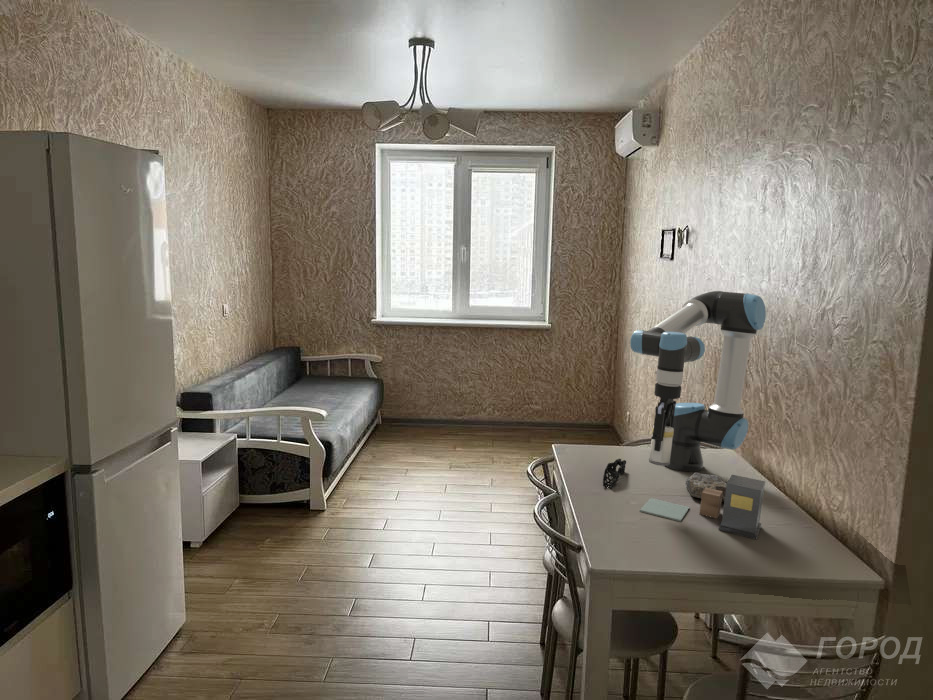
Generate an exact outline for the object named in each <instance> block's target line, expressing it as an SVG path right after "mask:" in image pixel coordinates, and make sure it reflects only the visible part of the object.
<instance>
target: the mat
mask: <svg viewBox="0 0 933 700" xmlns="http://www.w3.org/2000/svg"><path fill="white" fill-rule="evenodd" d="M688 509H689V510H690V506H686V505H682V504H677V503H674V502H669V501H665V500H661V499H657V498H653V497H650V498H649V499H648V500H647V501H646V502H645V503H644V505H643V506H641V508H640V509H639V512H641V513H645V514H649V515H653V516H656V517H661V518H665V519H668V520H672V521H676V522H682V520H683V518H685V516H686V514H688V511H689V510H688Z"/></svg>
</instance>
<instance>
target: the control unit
mask: <svg viewBox="0 0 933 700" xmlns="http://www.w3.org/2000/svg"><path fill="white" fill-rule="evenodd" d="M726 484H727V485H726V493H725V501H724V502H723V503H724V504H723V511H722V519H721V522H720V524H719V525H718V531H722V532H725V533H730V534H734V535H738V536H741V537H745V538H749V539H753V538H754V539H753V540H757V539H758V535H759V534H760V531H761V529H762V528H761V527H762V523H761V521H760V520H761V514H762V506H763V500H764V493H765V484H766V481H765V480H761V479H756V478H751V477H745V476H741V475H736V474H731V476H730V477H729V479H728V480H727V482H726Z"/></svg>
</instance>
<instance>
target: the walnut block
mask: <svg viewBox="0 0 933 700" xmlns="http://www.w3.org/2000/svg"><path fill="white" fill-rule="evenodd" d="M722 493H723V491H719V490H714V489H710V488H705V489H704V490H703V492H702V498H700V499H701V500H700V507H699V515H700V514H703V515H702V516H704V515H707V516H706V517H708V516H711V517H710V518H712V517H714V518H713V519H718V517H719V516H720V514H719V513H721V507H722V502H721V501H722ZM718 515H719V516H718Z"/></svg>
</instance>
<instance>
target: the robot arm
mask: <svg viewBox="0 0 933 700" xmlns="http://www.w3.org/2000/svg"><path fill="white" fill-rule="evenodd" d="M766 315H767V311H766V306H765V302H764V299H763V298H762V297H761V296H760V295H756V294H752V293H747V292H746V293H745V292H733V291H732V292H731V291H722V290H714V291H708V292H704V293H701V294H699V295H696V296H693V297H692V298H690V299H689V300H687V301H686V302H685V303H684V304H683V306H682V308H680V309H678V310H677V311H675V312H674V313H672V314H671V315H670V316H668V317H667V318H665V319H663V320H662V321H661V322H659V323H658V324H656V325H654V326H653V327H652V328H649V329H648V330H644V329H636V330H635V331H634V332H633V333H632V334H631V335H630V336H631V337H630V343H629V344H630V349H631V351H632V352H634V353H636V354H640V355H643V356H644V355H645V356H653V357H656V358H657V357H658V361H657V366H656V367H657V368H656V369H657V370H655V372H654V374H656V377H655V381H656V383H655V384H654V396H656V397H659V401H658V403H657V406H655V411H654V412H655V414H654V415H655V416H654V421H653V422H654V423H653V425H654V429H653V436H652V435H651V440H652V439H654V446H653V455H652V460H654V461H658V462H662V454H663V445H664V440H663V437H664V432H665V427H666V426H670V427H672V428H674V433H673V439H672V447H671V456H670V465H668V466H667V468H668V469H672V470H676V471H681V470H683V472H698V471H701V470H702V469H703V466H704V460H703V455H702V450H701V443H703V444H707V445H711V446H715V447H717V448H718V447H719V448H721V449H726V450H727V449H729V450H737V449H738V448H739V447H740V446H741V445H742V444H743V443H744V441H745V439H746V436H747V433H748V430H749V421H748V419H746V417H744V414H745V412H744V409H742V408H741V404H742V396H743V391H744V390H743V389H744V383H745V378H746V372H747V371H746V370H747V364H748V358H749V351H750V345H751V340H752V338H754V337H755V336H756V335H757V333H758V331H759V330H762V329H763V327H764V325H765V323H766ZM704 324H712V325H713V324H714V325H720V332H721V333H722V334H723V341H722V348H721V353H720V354H721V356H720V361H719V368H718V374H717V375H718V376H717V382H716V387H715V392H714V393H715V395H714V401H713V403H712V404H711V405H709V406H708V409H706V406H705V404H703V403H700V402H679V403H677V401H676V400H678V399H680V398H681V394H682V386H681V385H682V384H683V377H684V367H685V363H689V362H690V363H692V362H695V361H696V362H697V360H700V359H701V358H702V357H703V356H704V354H705V351H706V347H705V343H704V342H703V340H702V339H701V338H699V337H697V336H692V335H691V336H688V335H687V334H686V333H687V332H689V331H690V330H692V329H693V328H694V327H698V326H702V325H704ZM657 435H658V436H657Z"/></svg>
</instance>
